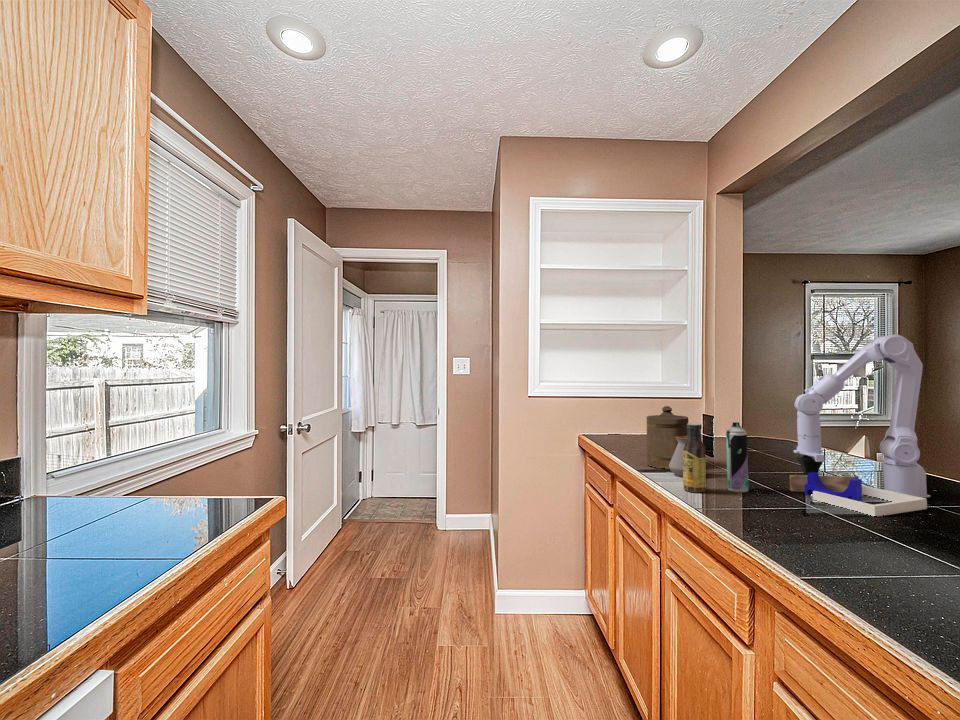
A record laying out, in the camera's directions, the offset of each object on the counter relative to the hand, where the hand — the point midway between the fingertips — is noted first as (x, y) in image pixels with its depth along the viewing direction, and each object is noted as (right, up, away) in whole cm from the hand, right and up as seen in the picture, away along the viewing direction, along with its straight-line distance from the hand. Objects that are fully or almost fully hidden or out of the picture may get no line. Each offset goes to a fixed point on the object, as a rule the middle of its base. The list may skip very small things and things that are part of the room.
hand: (810, 482), depth 146 cm
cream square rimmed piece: (+5, -2, -15) cm, 16 cm away
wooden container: (-26, -4, +41) cm, 48 cm away
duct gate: (+2, -2, -2) cm, 3 cm away
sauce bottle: (-32, -3, +3) cm, 33 cm away
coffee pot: (-27, -4, +19) cm, 33 cm away
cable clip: (+1, -3, -8) cm, 9 cm away
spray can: (-20, -3, +3) cm, 20 cm away
